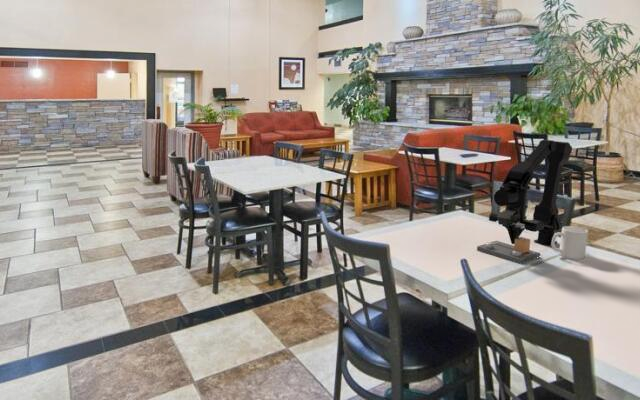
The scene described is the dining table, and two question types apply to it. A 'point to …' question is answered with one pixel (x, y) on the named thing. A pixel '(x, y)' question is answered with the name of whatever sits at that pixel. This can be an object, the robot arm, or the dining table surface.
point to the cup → (571, 242)
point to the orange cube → (522, 244)
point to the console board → (507, 252)
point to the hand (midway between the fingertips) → (513, 243)
